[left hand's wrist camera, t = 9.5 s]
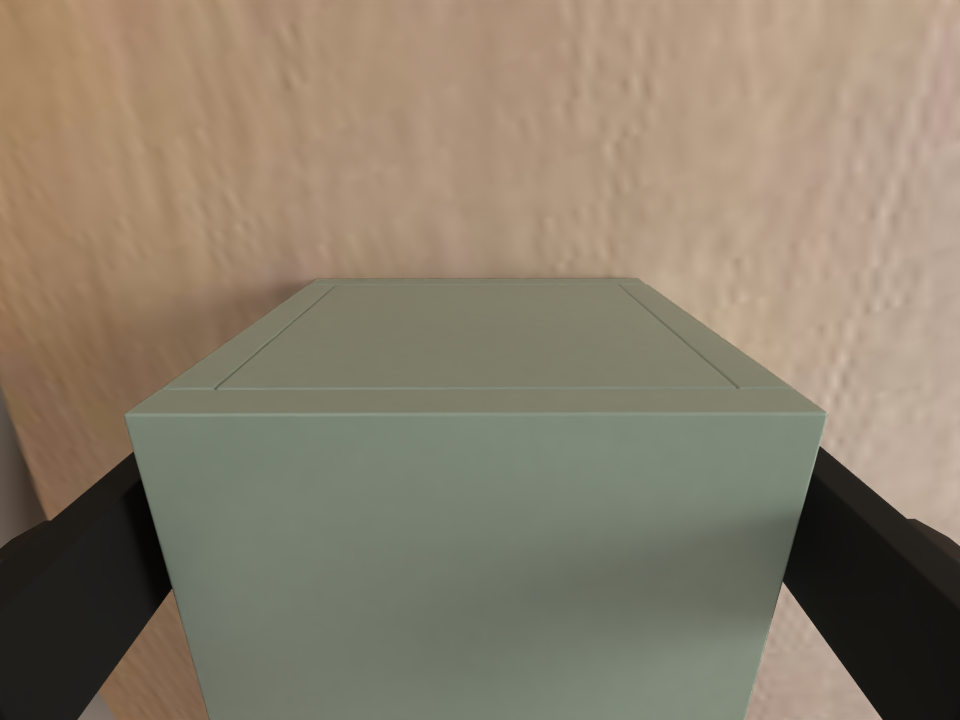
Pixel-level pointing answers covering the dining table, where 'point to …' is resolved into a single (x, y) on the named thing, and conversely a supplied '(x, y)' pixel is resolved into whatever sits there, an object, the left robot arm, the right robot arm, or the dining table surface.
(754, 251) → the dining table surface
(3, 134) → the dining table surface
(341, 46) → the dining table surface
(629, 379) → the sage green box
